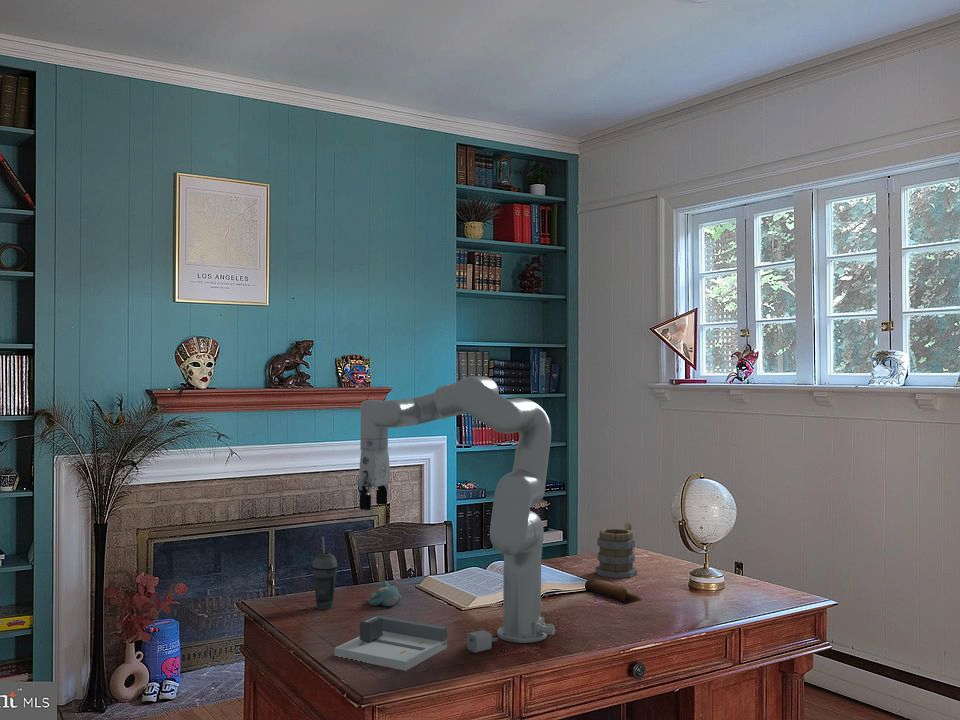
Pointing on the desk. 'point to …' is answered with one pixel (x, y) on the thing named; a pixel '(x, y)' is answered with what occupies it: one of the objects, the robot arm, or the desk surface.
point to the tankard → (616, 553)
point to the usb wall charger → (480, 641)
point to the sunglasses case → (612, 590)
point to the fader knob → (371, 628)
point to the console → (397, 644)
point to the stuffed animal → (385, 595)
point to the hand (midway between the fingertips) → (373, 506)
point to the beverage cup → (324, 579)
